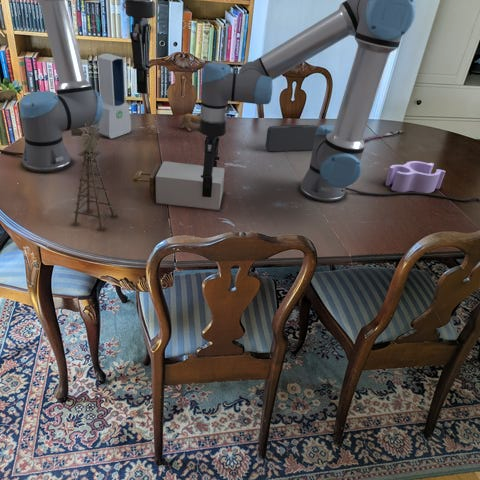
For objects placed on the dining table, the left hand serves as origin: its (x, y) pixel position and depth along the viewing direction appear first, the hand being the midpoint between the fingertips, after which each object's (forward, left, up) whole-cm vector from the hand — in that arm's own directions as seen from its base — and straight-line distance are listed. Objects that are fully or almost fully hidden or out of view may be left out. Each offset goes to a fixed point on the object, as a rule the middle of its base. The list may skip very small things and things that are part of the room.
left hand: (142, 92), depth 131 cm
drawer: (+9, +1, -31) cm, 32 cm away
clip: (+91, +34, -32) cm, 102 cm away
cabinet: (+15, +1, -32) cm, 35 cm away
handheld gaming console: (+45, +54, -32) cm, 77 cm away
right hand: (+20, +1, -27) cm, 34 cm away
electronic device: (-26, +46, -32) cm, 62 cm away
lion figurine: (+4, +63, -32) cm, 71 cm away
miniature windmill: (-8, -20, -32) cm, 39 cm away
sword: (+87, +84, -32) cm, 125 cm away
